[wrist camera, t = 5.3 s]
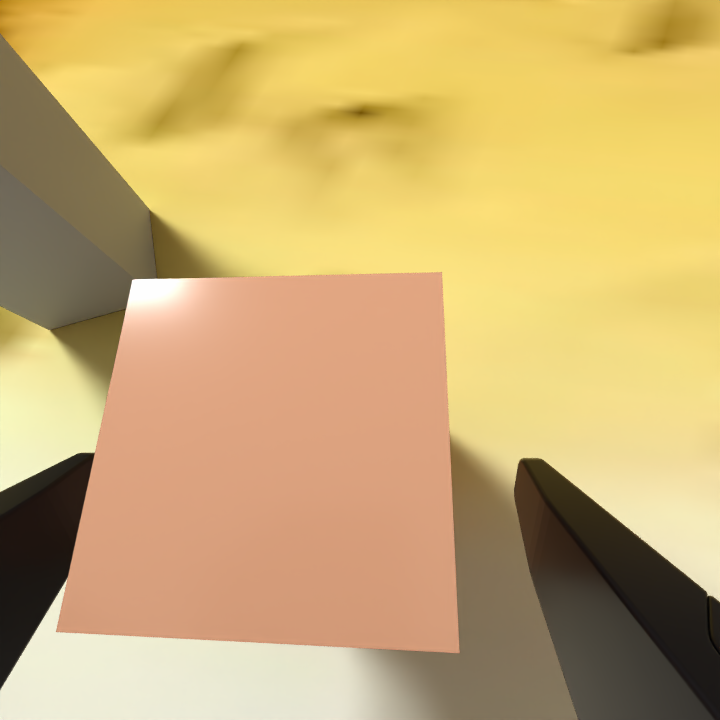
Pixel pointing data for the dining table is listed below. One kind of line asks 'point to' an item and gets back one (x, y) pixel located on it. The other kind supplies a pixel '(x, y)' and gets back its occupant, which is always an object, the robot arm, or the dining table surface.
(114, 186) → the tall grey pillar
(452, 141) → the dining table surface
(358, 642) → the salmon pink pillar
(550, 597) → the robot arm
